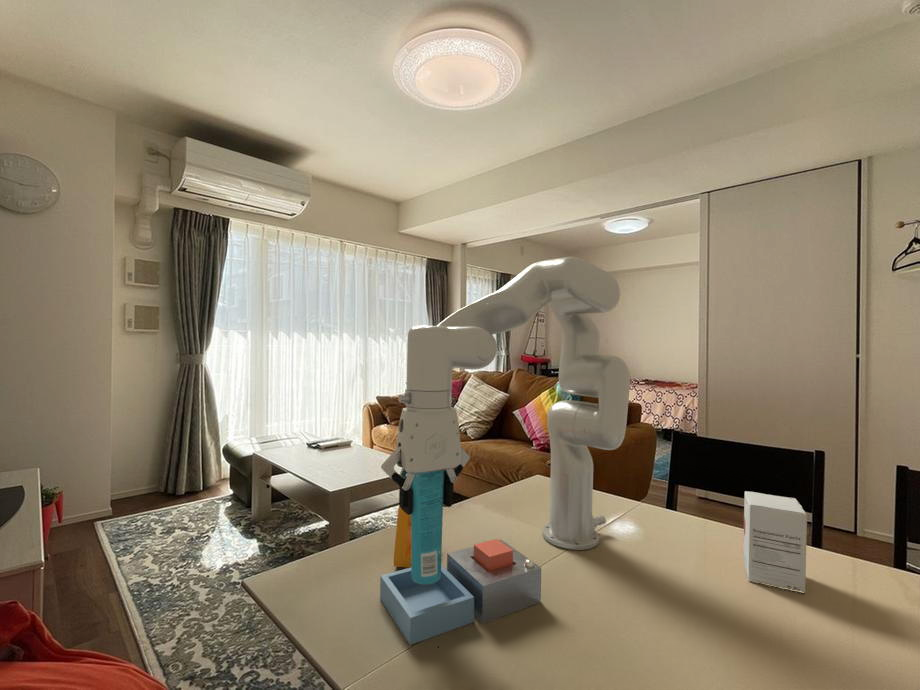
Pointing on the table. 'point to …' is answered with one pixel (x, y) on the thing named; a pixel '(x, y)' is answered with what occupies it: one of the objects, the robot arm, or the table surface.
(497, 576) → the box
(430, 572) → the tube
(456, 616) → the blue open tray
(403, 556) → the bracket
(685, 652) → the table surface
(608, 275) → the robot arm
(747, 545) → the supplement box
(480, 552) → the button
